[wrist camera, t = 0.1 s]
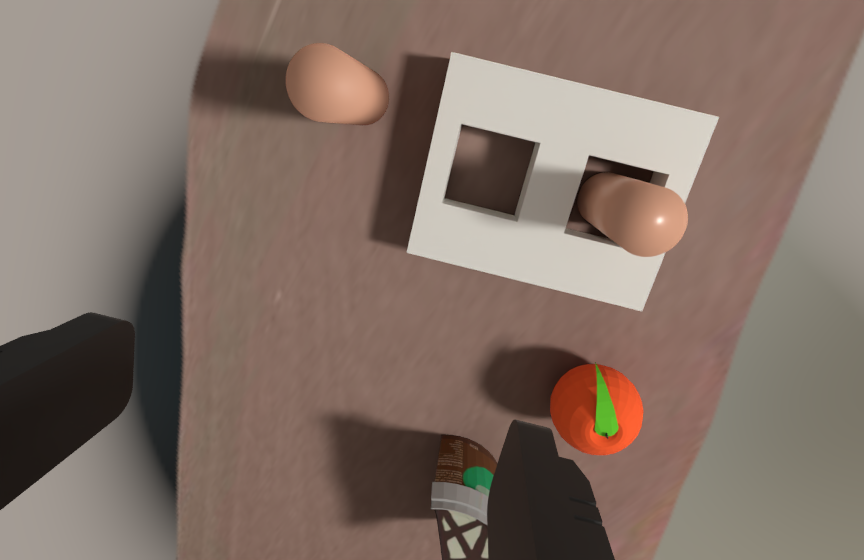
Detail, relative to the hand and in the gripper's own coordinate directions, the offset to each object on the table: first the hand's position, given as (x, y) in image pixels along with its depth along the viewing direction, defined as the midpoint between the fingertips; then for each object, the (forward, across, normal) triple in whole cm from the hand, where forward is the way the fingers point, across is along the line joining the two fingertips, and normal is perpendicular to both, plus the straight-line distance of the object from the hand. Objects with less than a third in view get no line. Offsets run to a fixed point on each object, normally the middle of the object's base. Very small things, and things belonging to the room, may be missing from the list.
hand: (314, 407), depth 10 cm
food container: (+29, -10, +23) cm, 39 cm away
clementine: (+29, -16, +11) cm, 35 cm away
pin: (+29, +7, -7) cm, 31 cm away
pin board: (+29, -8, -4) cm, 30 cm away
